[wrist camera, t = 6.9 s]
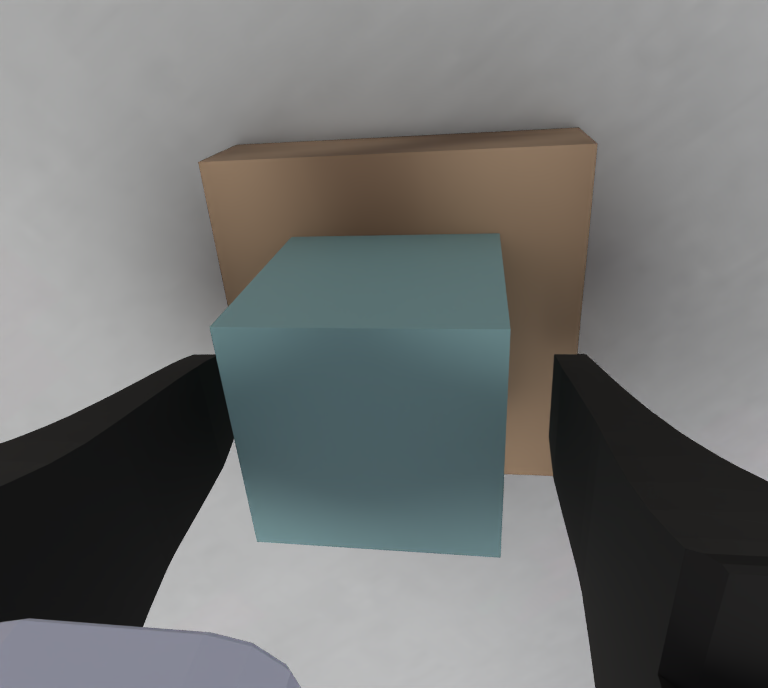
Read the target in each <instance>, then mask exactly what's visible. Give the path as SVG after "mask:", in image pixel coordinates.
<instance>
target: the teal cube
mask: <svg viewBox="0 0 768 688" xmlns="http://www.w3.org/2000/svg"><path fill="white" fill-rule="evenodd" d="M510 331H511V329H510V320H509V311H508V303H507V294H506V285H505V276H504V267H503V259H502V250H501V241H500V233H492V234H434V235H375V236H317V237H291V238H290V239H289V240H288V241H287V242H286V243H285V245H284V246H283V247H282V248H281V249H280V250H279V251H278V252H277V253H276V254H275V256H274V257H273V258H272V259H271V260H270V261H269V262H268V263H267V264H266V266H265V267H264V268H263V269H262V270H261V271H260V272H259V273H258V274H257V275H256V277H255V278H254V279H253V280H252V281H251V282H250V283H249V284H248V285H247V286H246V288H245V289H244V290H243V291H242V292H241V293H240V294H239V295H238V296H237V298H236V299H235V300H234V301H233V302H232V303H231V304H230V305H229V306H228V307H227V309H226V310H225V311H224V312H223V313H222V314H221V315H220V316H219V317H218V318H217V320H216V321H215V322H214V323H213V324H212V325H211V326H210V332H211V336H212V341H213V345H214V350H215V354H216V359H217V363H218V368H219V372H220V377H221V381H222V386H223V390H224V395H225V399H226V404H227V408H228V413H229V417H230V422H231V426H232V431H233V435H234V440H235V444H236V449H237V453H238V458H239V462H240V467H241V471H242V476H243V480H244V485H245V489H246V494H247V498H248V503H249V507H250V512H251V516H252V521H253V525H254V530H255V534H256V539H257V542H271V543H286V544H301V545H317V546H332V547H347V548H362V549H378V550H393V551H408V552H424V553H439V554H454V555H469V556H485V557H500V556H501V533H502V511H503V488H504V466H505V444H506V421H507V399H508V376H509V354H510Z"/></svg>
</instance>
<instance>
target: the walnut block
mask: <svg viewBox="0 0 768 688" xmlns="http://www.w3.org/2000/svg"><path fill="white" fill-rule="evenodd" d="M596 154H597V143H596V142H595V141H594V140H593V139H591V138H590V137H589V136H588V135H587V134H586V133H585V132H583V131H582V130H581V129H580V128H560V129H541V130H521V131H501V132H481V133H461V134H441V135H422V136H402V137H382V138H362V139H342V140H322V141H303V142H283V143H263V144H243V145H235V146H233V147H231V148H228V149H226V150H224V151H222V152H220V153H217V154H215V155H213V156H211V157H208V158H206V159H204V160H202V161H200V162H198V163H199V168H200V173H201V178H202V183H203V188H204V192H205V197H206V202H207V207H208V212H209V217H210V222H211V226H212V231H213V236H214V241H215V246H216V251H217V256H218V260H219V265H220V270H221V275H222V280H223V285H224V290H225V294H226V299H227V304H228V306H229V305H230V304H231V303H232V302H233V301H234V300H235V299H236V298H237V296H238V295H239V294H240V293H241V292H242V291H243V290H244V289H245V288H246V286H247V285H248V284H249V283H250V282H251V281H252V280H253V279H254V278H255V277H256V275H257V274H258V273H259V272H260V271H261V270H262V269H263V268H264V267H265V266H266V264H267V263H268V262H269V261H270V260H271V259H272V258H273V257H274V256H275V254H276V253H277V252H278V251H279V250H280V249H281V248H282V247H283V246H284V245H285V243H286V242H287V241H288V240H289V239H290V238H291V237H317V236H375V235H434V234H492V233H500V241H501V250H502V259H503V267H504V276H505V285H506V294H507V303H508V311H509V320H510V329H511V331H510V354H509V376H508V399H507V421H506V444H505V466H504V474H517V475H544V476H553V470H552V463H551V454H550V445H549V423H550V408H551V393H552V378H553V363H554V354H577V350H578V340H579V330H580V319H581V309H582V299H583V288H584V278H585V268H586V257H587V247H588V237H589V226H590V216H591V206H592V195H593V185H594V175H595V164H596Z"/></svg>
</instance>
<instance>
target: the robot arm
mask: <svg viewBox="0 0 768 688" xmlns="http://www.w3.org/2000/svg"><path fill="white" fill-rule="evenodd" d="M233 440H234V435H233V431H232V426H231V422H230V417H229V413H228V408H227V404H226V399H225V395H224V390H223V386H222V381H221V377H220V372H219V368H218V363H217V359H216V355H191V356H188V357H186V358H183V359H181V360H179V361H177V362H175V363H172V364H170V365H168V366H166V367H164V368H163V369H161V370H159V371H157V372H155V373H153V374H151V375H149V376H147V377H145V378H143V379H142V380H140V381H138V382H136V383H134V384H132V385H130V386H128V387H126V388H125V389H123V390H121V391H119V392H117V393H115V394H113V395H111V396H109V397H107V398H105V399H103V400H101V401H99V402H97V403H95V404H93V405H91V406H89V407H87V408H85V409H83V410H81V411H78V412H76V413H74V414H72V415H70V416H68V417H66V418H64V419H61V420H59V421H57V422H54V423H52V424H50V425H48V426H45V427H43V428H40V429H38V430H35V431H33V432H30V433H28V434H25V435H23V436H20V437H17V438H15V439H12V440H9V441H6V442H3V443H0V688H301V687H300V685H299V684H298V682H297V680H296V679H295V677H294V676H293V674H292V672H291V671H290V669H289V668H288V666H287V665H286V664H284V663H283V662H281V661H280V660H278V659H277V658H275V657H273V656H272V655H270V654H269V653H267V652H266V651H264V650H263V649H261V648H259V647H258V646H256V645H255V644H253V643H251V642H247V641H243V640H239V639H235V638H231V637H227V636H223V635H219V634H215V633H211V632H198V631H186V630H173V629H160V628H147V627H143V625H144V623H145V620H146V618H147V615H148V612H149V610H150V608H151V605H152V603H153V601H154V598H155V596H156V594H157V591H158V589H159V587H160V584H161V582H162V580H163V577H164V575H165V573H166V570H167V568H168V566H169V564H170V562H171V560H172V558H173V556H174V554H175V552H176V550H177V549H178V547H179V545H180V543H181V542H182V540H183V538H184V536H185V535H186V533H187V531H188V529H189V528H190V526H191V524H192V522H193V520H194V519H195V517H196V515H197V513H198V512H199V510H200V508H201V506H202V505H203V503H204V501H205V499H206V498H207V496H208V494H209V492H210V490H211V489H212V487H213V485H214V483H215V481H216V480H217V478H218V476H219V474H220V472H221V470H222V468H223V466H224V464H225V461H226V459H227V456H228V454H229V451H230V448H231V446H232V443H233ZM549 445H550V454H551V463H552V470H553V478H554V482H555V486H556V490H557V494H558V498H559V502H560V506H561V510H562V514H563V518H564V522H565V525H566V529H567V533H568V537H569V541H570V545H571V548H572V552H573V556H574V560H575V564H576V568H577V572H578V576H579V581H580V586H581V591H582V596H583V603H584V610H585V617H586V623H587V630H588V637H589V644H590V651H591V659H592V666H593V673H594V681H595V688H768V481H766V480H764V479H762V478H760V477H758V476H756V475H754V474H752V473H750V472H748V471H746V470H744V469H742V468H740V467H738V466H736V465H734V464H732V463H730V462H728V461H727V460H725V459H723V458H721V457H719V456H718V455H716V454H714V453H713V452H711V451H709V450H708V449H706V448H704V447H703V446H701V445H699V444H698V443H696V442H694V441H693V440H691V439H690V438H688V437H687V436H685V435H684V434H682V433H681V432H679V431H678V430H676V429H675V428H673V427H672V426H671V425H669V424H668V423H666V422H665V421H664V420H662V419H661V418H660V417H658V416H657V415H655V414H654V413H653V412H651V411H650V410H649V409H648V408H646V407H645V406H644V405H643V404H641V403H640V402H639V401H638V400H636V399H635V398H634V397H633V396H632V395H630V394H629V393H628V392H627V391H626V390H625V389H623V388H622V387H621V386H620V385H619V384H618V383H617V382H616V381H614V380H613V379H612V378H611V377H610V376H609V375H608V374H607V373H606V372H605V371H603V370H602V369H601V368H600V367H599V366H598V365H597V364H596V363H595V362H594V361H593V360H592V359H590V358H589V357H588V356H587V355H586V354H554V363H553V378H552V393H551V408H550V423H549Z"/></svg>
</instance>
